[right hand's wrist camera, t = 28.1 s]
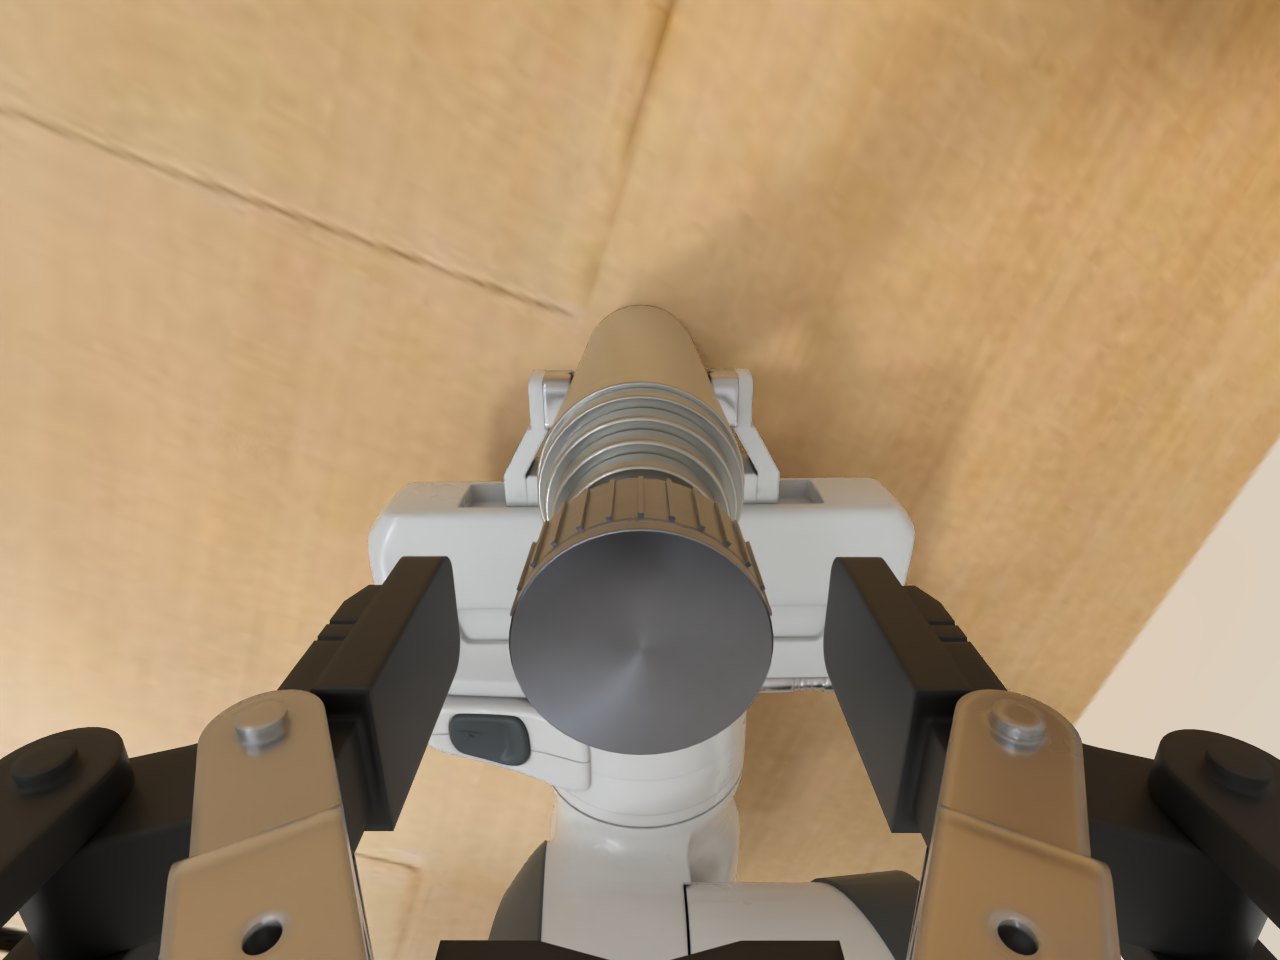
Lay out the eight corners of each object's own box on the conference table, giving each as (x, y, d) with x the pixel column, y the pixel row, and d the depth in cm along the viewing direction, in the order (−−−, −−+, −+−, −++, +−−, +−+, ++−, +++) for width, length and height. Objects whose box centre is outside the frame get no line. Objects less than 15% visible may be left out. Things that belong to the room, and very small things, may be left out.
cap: (494, 632, 12) (467, 709, 10) (576, 436, 11) (561, 481, 9) (696, 704, 13) (706, 789, 11) (795, 525, 12) (826, 586, 10)
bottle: (595, 421, 32) (517, 765, 12) (576, 314, 31) (448, 497, 10) (701, 406, 32) (810, 731, 12) (688, 297, 30) (788, 449, 10)
